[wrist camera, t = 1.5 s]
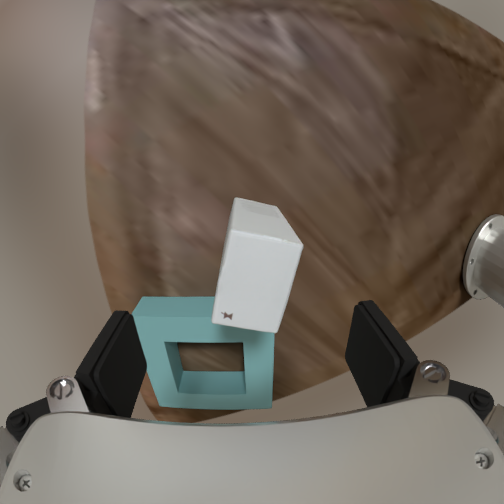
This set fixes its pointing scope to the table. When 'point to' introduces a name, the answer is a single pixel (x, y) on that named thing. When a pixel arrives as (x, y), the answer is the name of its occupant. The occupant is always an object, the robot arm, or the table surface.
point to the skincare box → (256, 268)
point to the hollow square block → (199, 382)
